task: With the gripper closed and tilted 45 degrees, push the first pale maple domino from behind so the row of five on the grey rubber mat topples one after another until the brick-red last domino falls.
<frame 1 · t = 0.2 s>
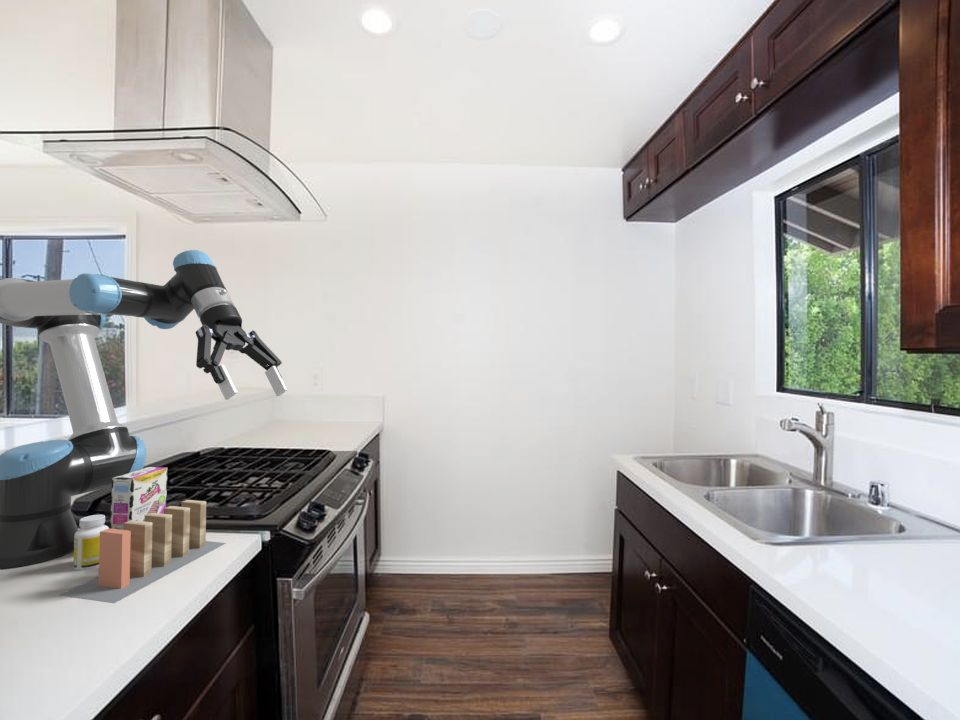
hand: (258, 394, 94), 35 cm above the counter, tool tilted 35°, fingers open, 13 cm apart
domino 2: (175, 554, 96), resting on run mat
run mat: (153, 567, 91), on the counter
domino 1: (192, 545, 100), resting on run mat
domino 4: (136, 573, 87), resting on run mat
candy bar box: (139, 544, 102), on the counter
domino 3: (157, 563, 92), resting on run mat
supplement bottle: (91, 566, 91), on the counter
domino 5: (114, 584, 83), resting on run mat
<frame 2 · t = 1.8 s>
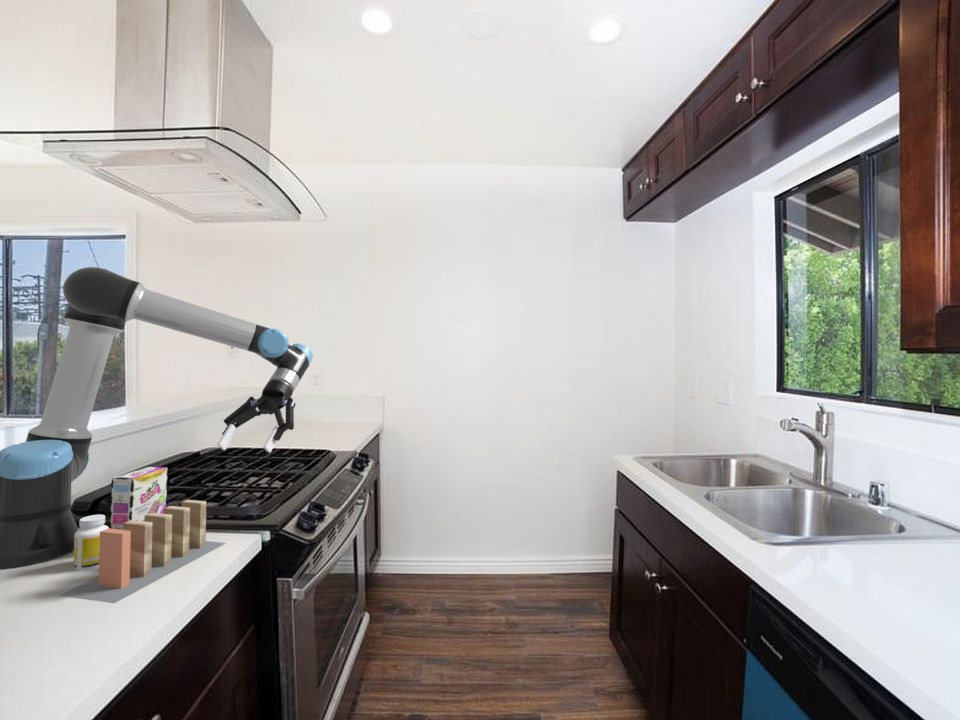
hand: (243, 448, 115), 19 cm above the counter, tool tilted 45°, fingers open, 13 cm apart
nothing on the counter moved.
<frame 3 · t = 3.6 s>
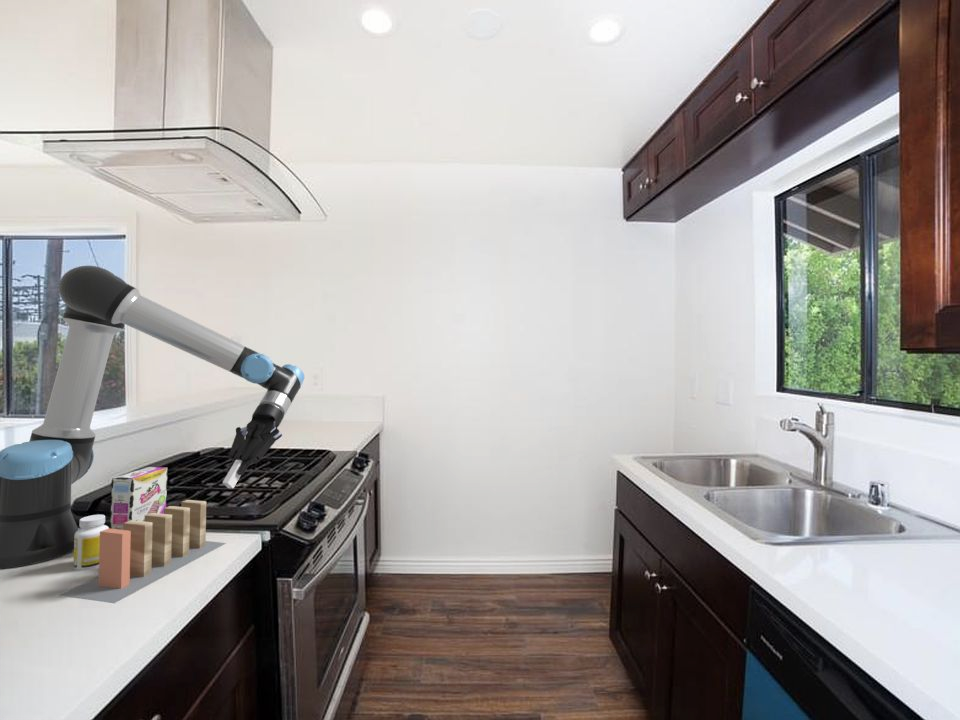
hand: (227, 485, 110), 11 cm above the counter, tool tilted 45°, fingers closed
nothing on the counter moved.
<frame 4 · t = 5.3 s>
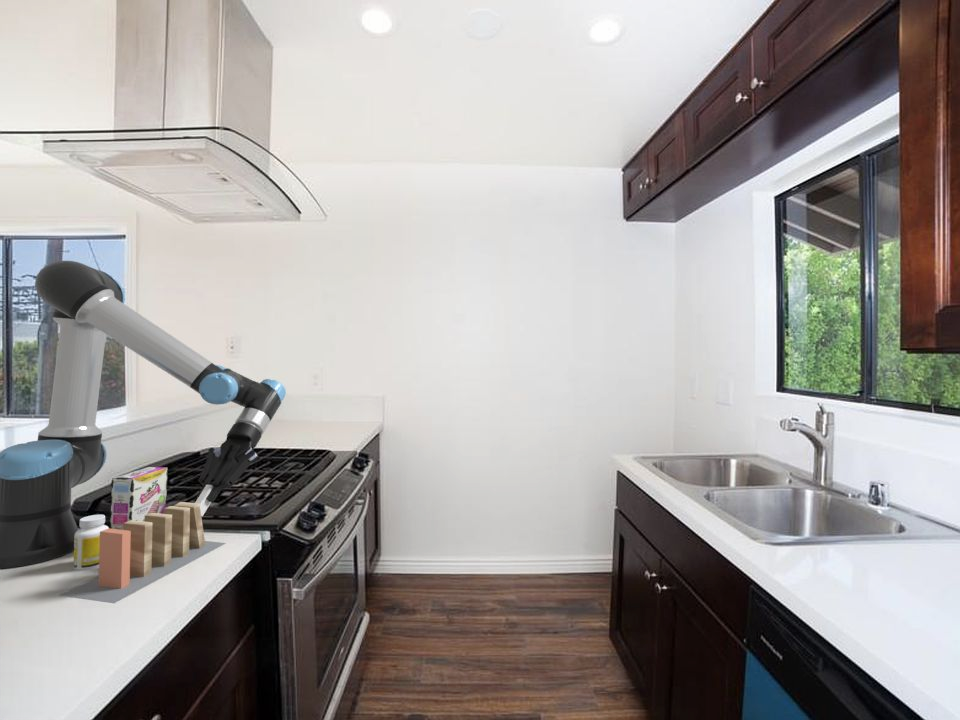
hand: (196, 513, 101), 7 cm above the counter, tool tilted 45°, fingers closed
domino 1: (192, 545, 100), resting on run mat, tilted 11°
everything else where it was.
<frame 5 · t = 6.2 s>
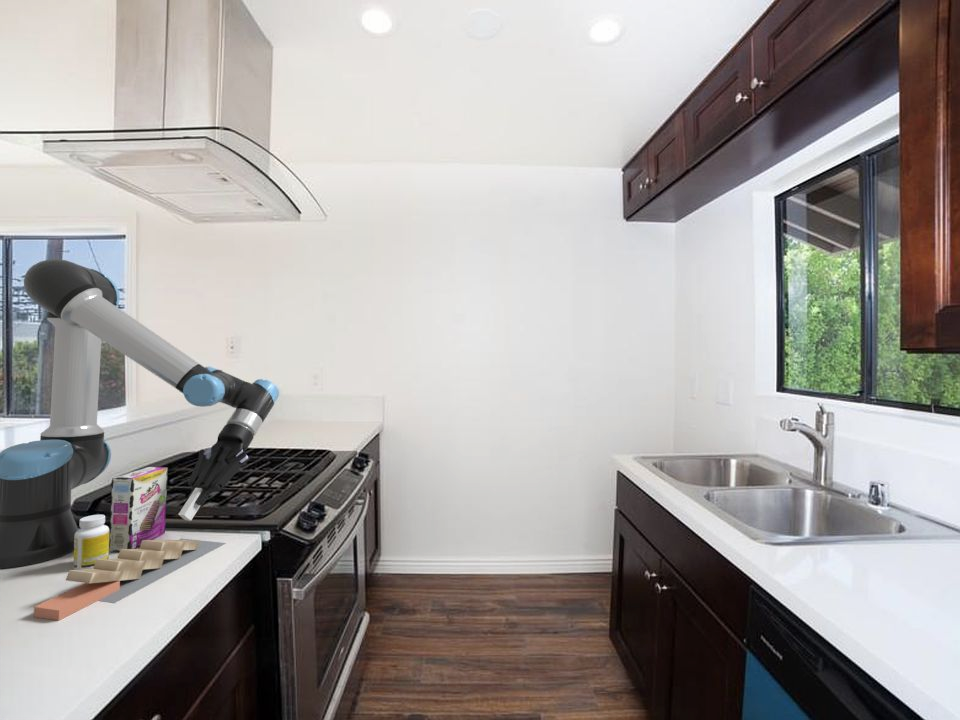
hand: (184, 517, 98), 8 cm above the counter, tool tilted 45°, fingers closed
domino 2: (171, 553, 95), point 1 cm above the counter, tilted 69°, touching domino 1, domino 3, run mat
domino 1: (188, 544, 99), point 1 cm above the counter, tilted 69°, touching domino 2, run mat
domino 4: (130, 572, 86), point 1 cm above the counter, tilted 69°, touching domino 3, domino 5
domino 3: (151, 562, 90), point 1 cm above the counter, tilted 69°, touching domino 2, domino 4, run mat
domino 5: (108, 583, 82), point 1 cm above the counter, tilted 90°, touching domino 4, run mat
everything else where it was.
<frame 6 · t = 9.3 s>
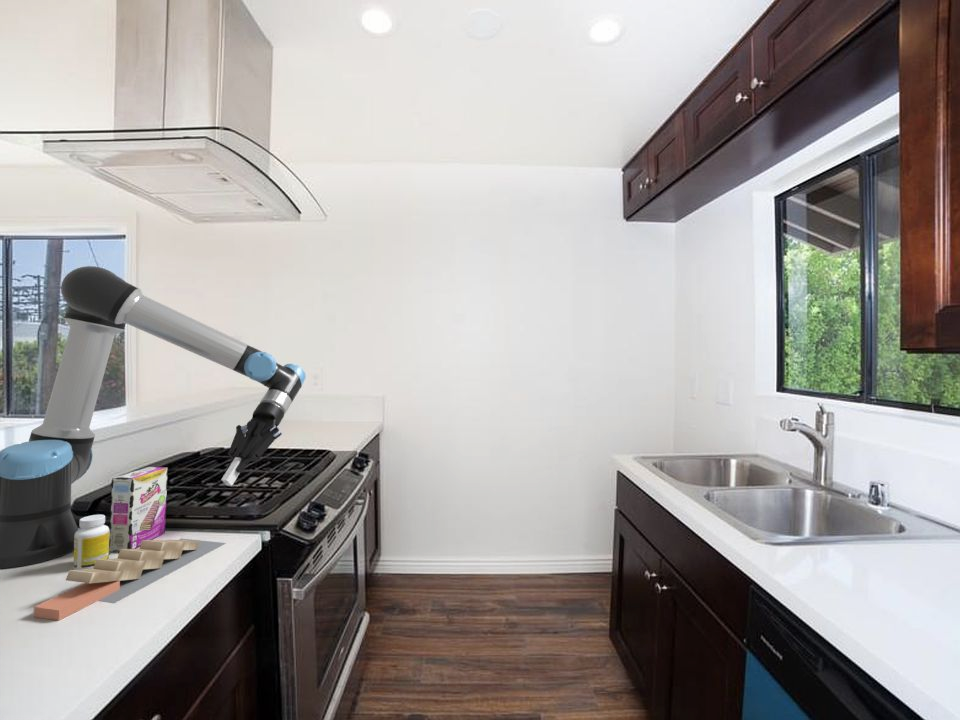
hand: (226, 482, 110), 12 cm above the counter, tool tilted 45°, fingers closed
nothing on the counter moved.
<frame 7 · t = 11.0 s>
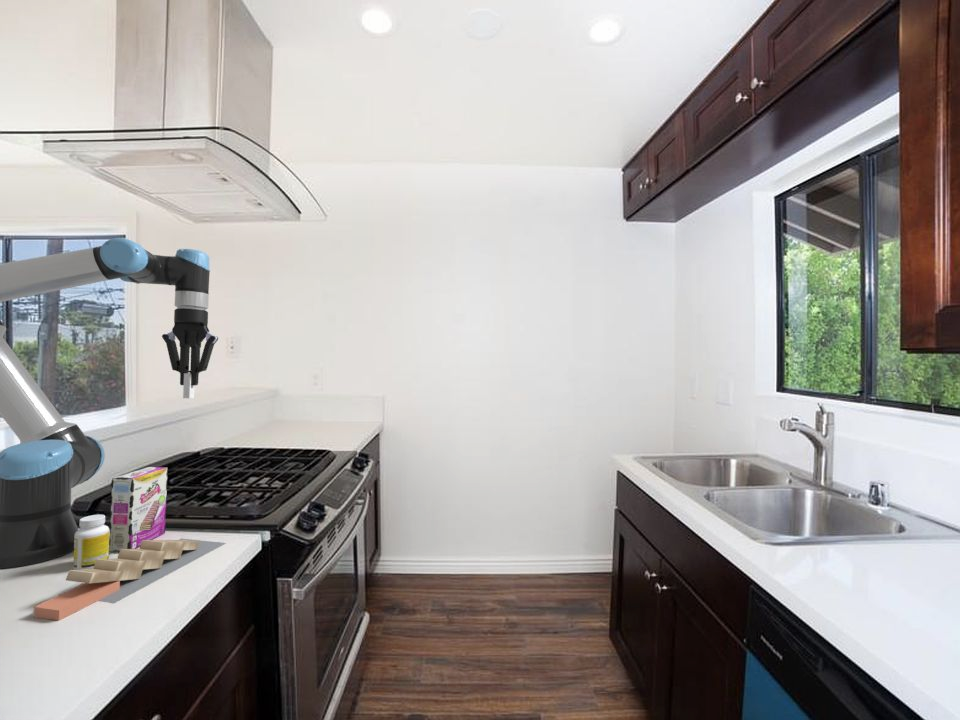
hand: (188, 397, 118), 32 cm above the counter, tool pointing down, fingers closed
nothing on the counter moved.
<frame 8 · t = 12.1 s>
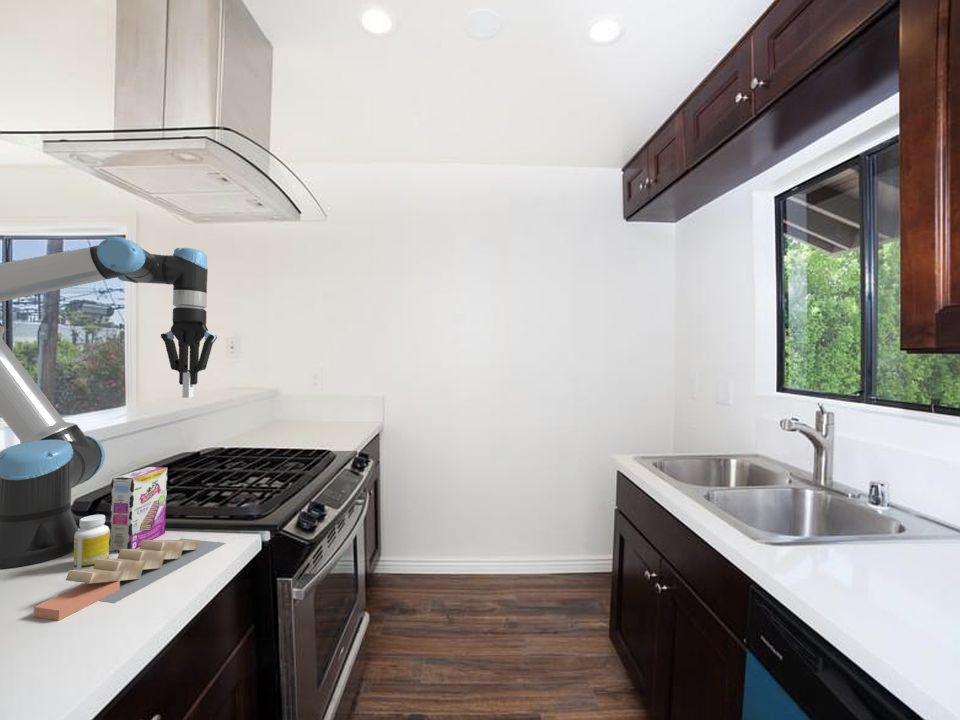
hand: (188, 397, 118), 32 cm above the counter, tool pointing down, fingers closed
nothing on the counter moved.
at the end: domino 1 tilted 69°; domino 3 tilted 69°; domino 5 tilted 90° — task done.
